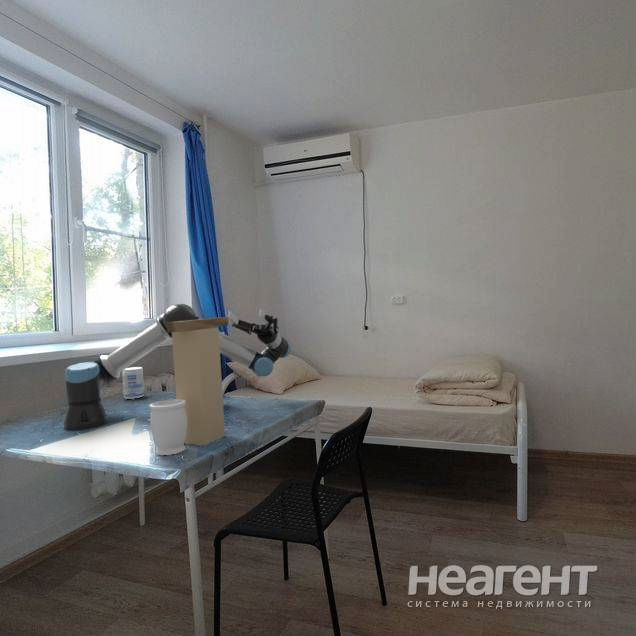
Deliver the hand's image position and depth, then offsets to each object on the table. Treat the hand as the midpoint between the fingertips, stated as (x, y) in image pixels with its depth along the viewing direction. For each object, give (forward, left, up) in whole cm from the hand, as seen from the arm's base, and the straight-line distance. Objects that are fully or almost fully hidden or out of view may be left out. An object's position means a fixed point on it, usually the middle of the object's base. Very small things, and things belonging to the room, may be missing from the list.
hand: (244, 313), depth 182 cm
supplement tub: (-79, +22, -40) cm, 91 cm away
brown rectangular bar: (0, -28, -4) cm, 28 cm away
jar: (-2, -43, -40) cm, 59 cm away
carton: (0, -30, -40) cm, 50 cm away
